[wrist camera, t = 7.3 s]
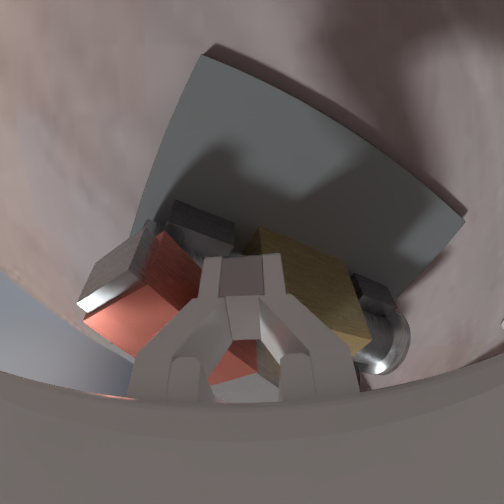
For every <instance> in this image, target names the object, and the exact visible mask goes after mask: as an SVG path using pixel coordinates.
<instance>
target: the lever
mask: <svg viewBox="0 0 504 504" xmlns="http://www.w3.org/2000/svg"><path fill="white" fill-rule="evenodd" d="M201 273H202V269H201V268H200V267H199V266H198V265H197V264H196V263H195V262H194V261H193V259H192V258H191V257H190V256H189V255H188V254H187V253H186V252H185V251H184V250H183V249H182V248H181V247H180V246H179V245H178V244H177V243H176V242H175V241H174V240H173V239H172V238H171V237H170V236H169V234H168V233H167V232H166V231H163V232H162V233H160V234H158V235H157V236H154V235H153V234H152V233H151V232H150V231H149V229H148V228H147V227H145V228H143V229H142V230H140V231H139V232H137V233H136V234H135V235H133V236H132V237H130V238H129V239H127V240H126V241H125V242H123V243H122V244H121V245H119V246H118V247H116V248H115V249H114V250H112V251H111V252H110V253H108V254H107V255H106V256H104V257H103V258H101V259H100V260H99V261H98V262H96V263H95V265H94V267H93V269H92V271H91V273H90V275H89V278H88V280H87V282H86V284H85V286H84V288H83V290H82V293H81V295H80V297H79V299H78V301H77V305H79V306H80V307H81V308H82V309H84V310H85V311H86V315H85V317H84V320H83V322H84V323H86V324H87V325H88V326H90V327H91V328H92V329H94V330H95V331H97V332H98V333H99V334H101V335H102V336H103V337H105V338H106V339H108V340H109V341H110V342H112V343H113V344H115V345H116V346H118V347H119V348H121V349H122V350H124V351H125V352H127V353H128V354H130V355H131V356H133V357H134V358H136V354H137V353H138V352H139V351H140V350H141V349H142V348H143V347H144V346H145V345H146V344H147V343H148V342H149V341H150V340H151V339H152V338H153V337H154V336H155V335H156V334H157V333H158V332H159V331H160V330H161V329H162V328H163V327H164V326H165V325H166V324H167V323H168V322H169V321H170V320H171V319H172V318H173V317H174V316H175V315H176V314H177V313H178V312H179V311H180V310H181V309H182V308H183V307H184V306H185V305H186V304H187V303H188V302H189V301H190V300H191V299H193V298H198V292H199V286H200V279H201ZM232 341H233V342H232V344H231V345H230V347H229V348H228V350H227V351H226V352H225V354H224V355H223V357H222V358H221V360H220V361H219V363H218V364H217V366H216V367H215V368H214V370H213V371H212V373H211V374H210V376H209V377H208V382H209V384H210V387H211V389H212V392H213V394H214V396H216V397H218V398H220V399H221V400H223V401H225V402H227V403H259V402H278V399H279V377H280V365H279V363H278V362H277V361H276V360H275V358H274V357H273V356H272V354H271V353H270V352H269V350H268V349H267V348H266V346H265V345H264V343H263V342H262V341H261V339H246V340H232Z"/></svg>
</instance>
